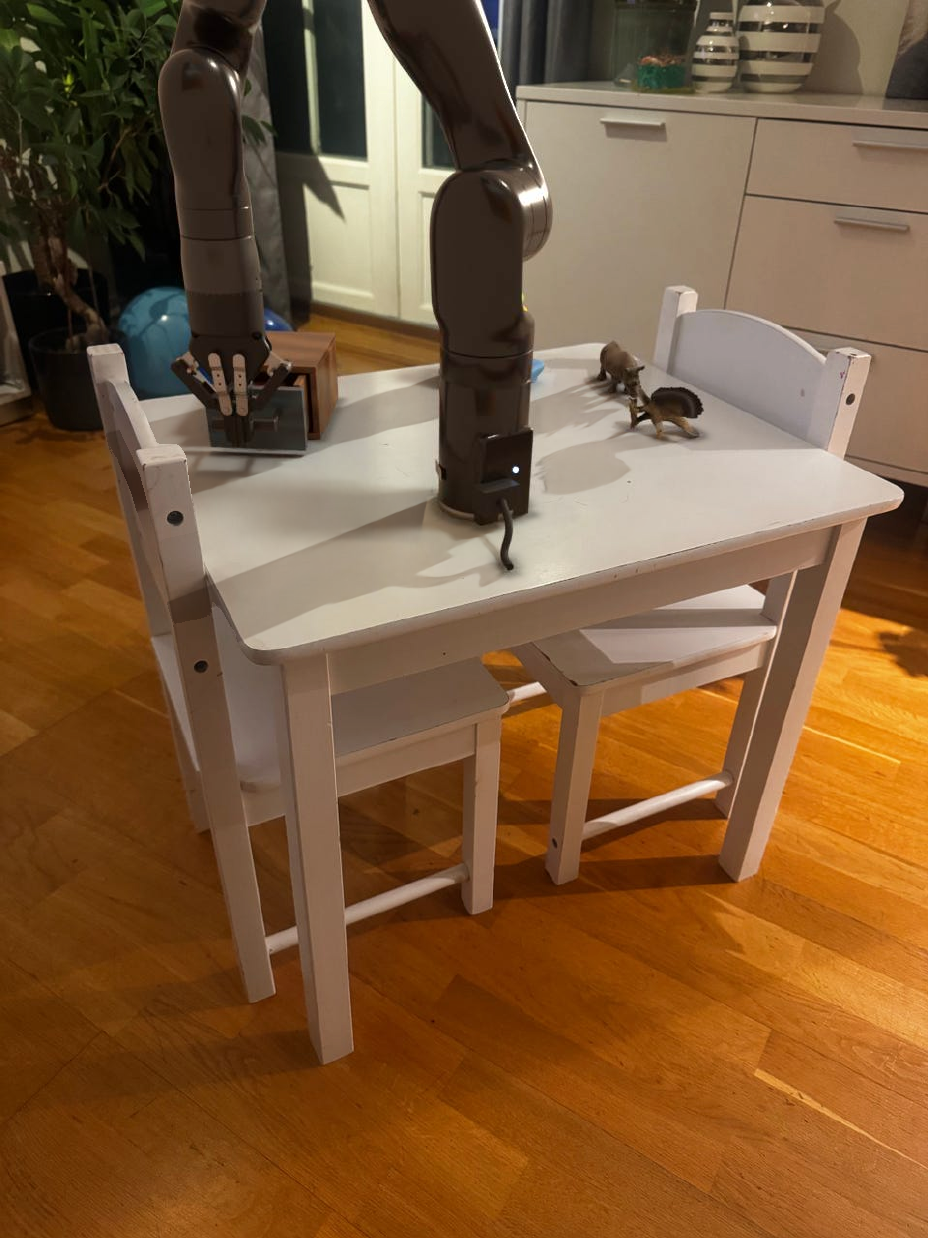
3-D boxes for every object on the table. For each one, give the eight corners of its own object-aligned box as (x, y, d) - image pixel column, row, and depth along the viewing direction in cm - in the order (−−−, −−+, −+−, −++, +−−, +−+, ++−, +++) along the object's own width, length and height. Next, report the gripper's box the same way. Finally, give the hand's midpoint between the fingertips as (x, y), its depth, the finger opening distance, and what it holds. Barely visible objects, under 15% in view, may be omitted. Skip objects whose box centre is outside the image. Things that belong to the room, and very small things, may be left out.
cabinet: (320, 439, 113) (315, 366, 109) (219, 435, 114) (210, 363, 109) (338, 399, 126) (335, 332, 121) (247, 396, 126) (240, 329, 121)
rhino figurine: (621, 408, 125) (626, 365, 122) (592, 376, 137) (596, 336, 133) (650, 407, 126) (656, 364, 123) (618, 375, 137) (623, 335, 134)
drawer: (297, 468, 104) (292, 406, 100) (197, 465, 104) (188, 402, 100) (325, 410, 119) (322, 355, 115) (238, 407, 120) (232, 352, 116)
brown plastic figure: (631, 436, 114) (705, 428, 112) (626, 379, 114) (701, 370, 112) (631, 448, 121) (701, 440, 119) (627, 394, 121) (697, 386, 120)
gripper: (145, 288, 89) (171, 456, 98) (281, 292, 89) (294, 460, 98) (168, 271, 95) (191, 430, 104) (295, 275, 95) (306, 434, 104)
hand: (241, 444), depth 101 cm, fingers closed
